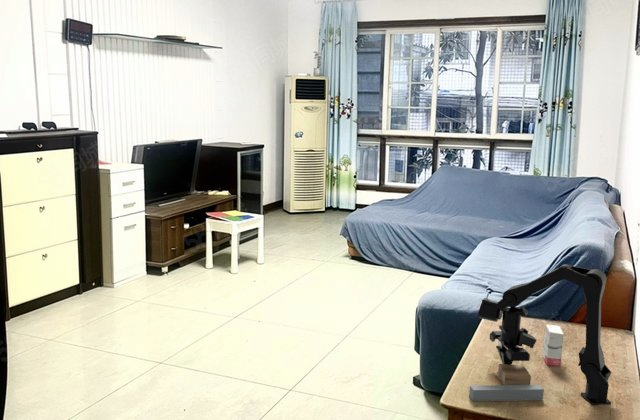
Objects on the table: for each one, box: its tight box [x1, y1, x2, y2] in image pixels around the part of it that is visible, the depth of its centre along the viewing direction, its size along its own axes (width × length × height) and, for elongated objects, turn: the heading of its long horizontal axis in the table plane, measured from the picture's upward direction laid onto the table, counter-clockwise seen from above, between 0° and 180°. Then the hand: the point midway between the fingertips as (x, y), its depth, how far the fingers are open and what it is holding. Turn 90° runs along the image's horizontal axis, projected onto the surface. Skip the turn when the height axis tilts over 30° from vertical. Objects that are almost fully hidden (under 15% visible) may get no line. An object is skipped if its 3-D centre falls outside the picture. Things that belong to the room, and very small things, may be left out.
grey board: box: [468, 384, 545, 402], centre depth 183 cm, size 3×22×4 cm, turn 96°
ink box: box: [542, 324, 565, 367], centre depth 212 cm, size 9×5×12 cm, turn 168°
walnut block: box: [497, 363, 532, 385], centre depth 194 cm, size 8×8×4 cm
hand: (506, 370), depth 200 cm, fingers closed
